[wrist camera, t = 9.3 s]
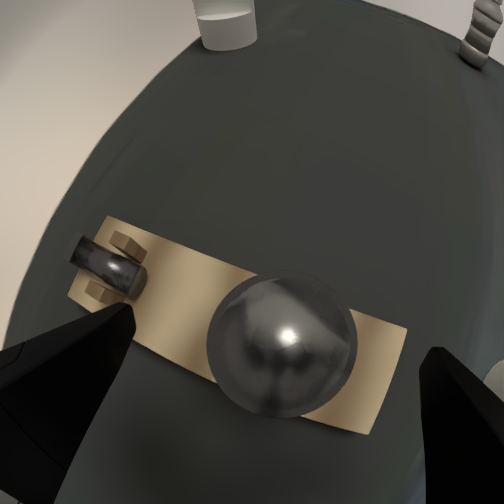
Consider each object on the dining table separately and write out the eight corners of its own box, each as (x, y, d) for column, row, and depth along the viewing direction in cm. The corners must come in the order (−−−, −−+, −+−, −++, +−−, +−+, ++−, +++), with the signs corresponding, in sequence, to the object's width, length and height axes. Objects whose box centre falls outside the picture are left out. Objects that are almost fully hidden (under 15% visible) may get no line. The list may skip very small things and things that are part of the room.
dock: (394, 332, 20) (426, 324, 15) (358, 426, 17) (382, 446, 12) (120, 227, 25) (90, 198, 20) (83, 301, 23) (45, 286, 18)
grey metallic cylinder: (325, 327, 20) (376, 299, 10) (299, 393, 19) (323, 436, 8) (259, 302, 22) (241, 250, 11) (232, 367, 20) (183, 381, 9)
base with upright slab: (259, 28, 37) (253, -28, 26) (254, 49, 34) (247, -17, 23) (209, 31, 38) (197, -22, 27) (197, 53, 35) (181, -9, 24)
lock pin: (151, 271, 20) (137, 260, 18) (137, 301, 20) (121, 293, 17) (91, 241, 22) (75, 229, 19) (79, 266, 21) (61, 257, 19)
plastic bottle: (484, 76, 32) (513, 6, 13) (457, 59, 34) (482, -14, 15) (480, 64, 34) (505, 0, 15) (455, 49, 35) (476, -18, 17)
